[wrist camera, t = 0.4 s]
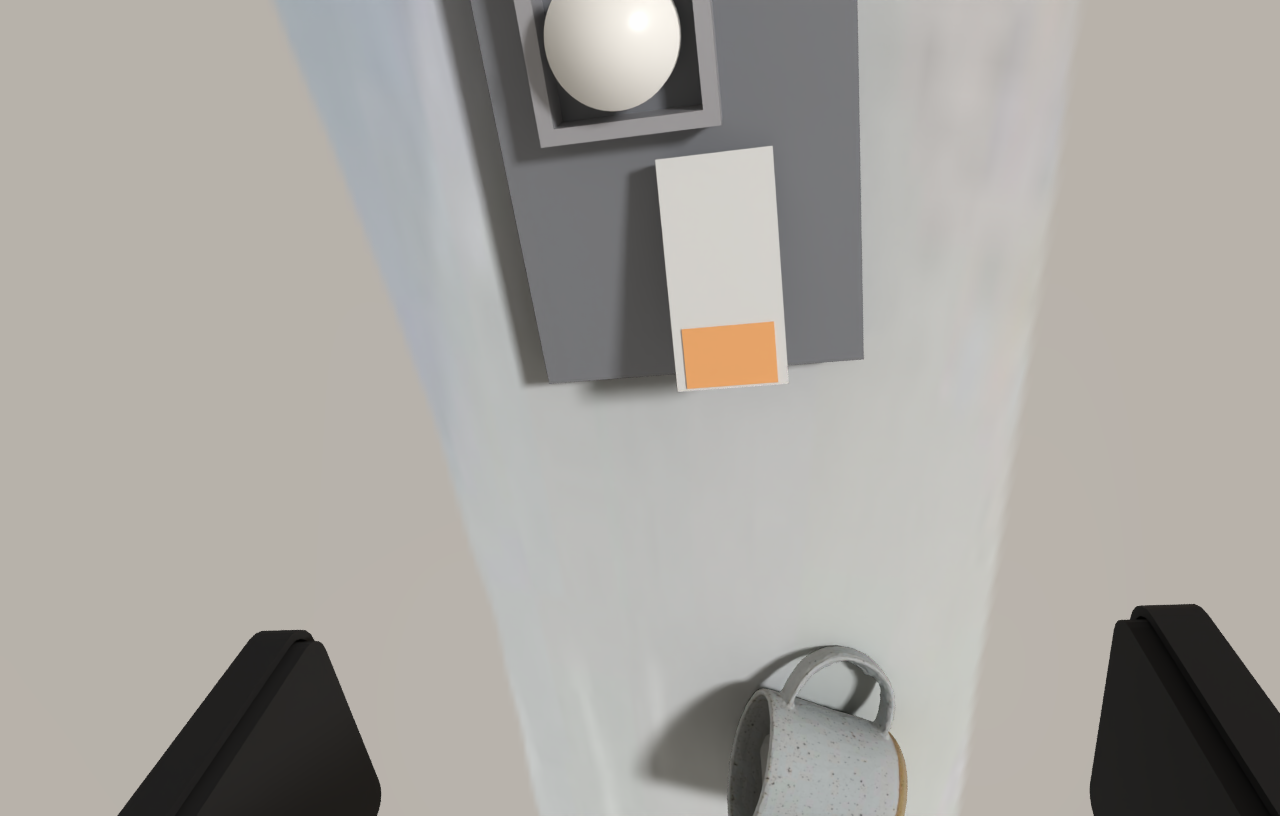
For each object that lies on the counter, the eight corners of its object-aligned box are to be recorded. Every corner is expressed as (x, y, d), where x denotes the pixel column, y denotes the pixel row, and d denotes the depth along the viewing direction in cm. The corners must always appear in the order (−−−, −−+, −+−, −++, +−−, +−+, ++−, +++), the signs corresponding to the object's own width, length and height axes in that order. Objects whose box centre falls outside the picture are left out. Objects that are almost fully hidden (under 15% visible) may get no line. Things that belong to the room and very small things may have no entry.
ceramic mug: (853, 783, 50) (871, 906, 44) (725, 748, 50) (722, 866, 43) (923, 658, 46) (956, 775, 39) (781, 619, 45) (788, 730, 39)
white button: (542, -26, 29) (531, -26, 27) (673, -47, 28) (669, -48, 27) (565, 112, 31) (557, 119, 29) (688, 96, 30) (685, 102, 29)
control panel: (404, -409, 27) (355, -464, 24) (840, -517, 25) (855, -593, 21) (558, 365, 40) (540, 401, 36) (858, 341, 37) (869, 377, 34)
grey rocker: (658, 161, 32) (654, 159, 31) (772, 147, 31) (772, 145, 30) (680, 386, 34) (677, 392, 33) (787, 378, 33) (788, 383, 32)
